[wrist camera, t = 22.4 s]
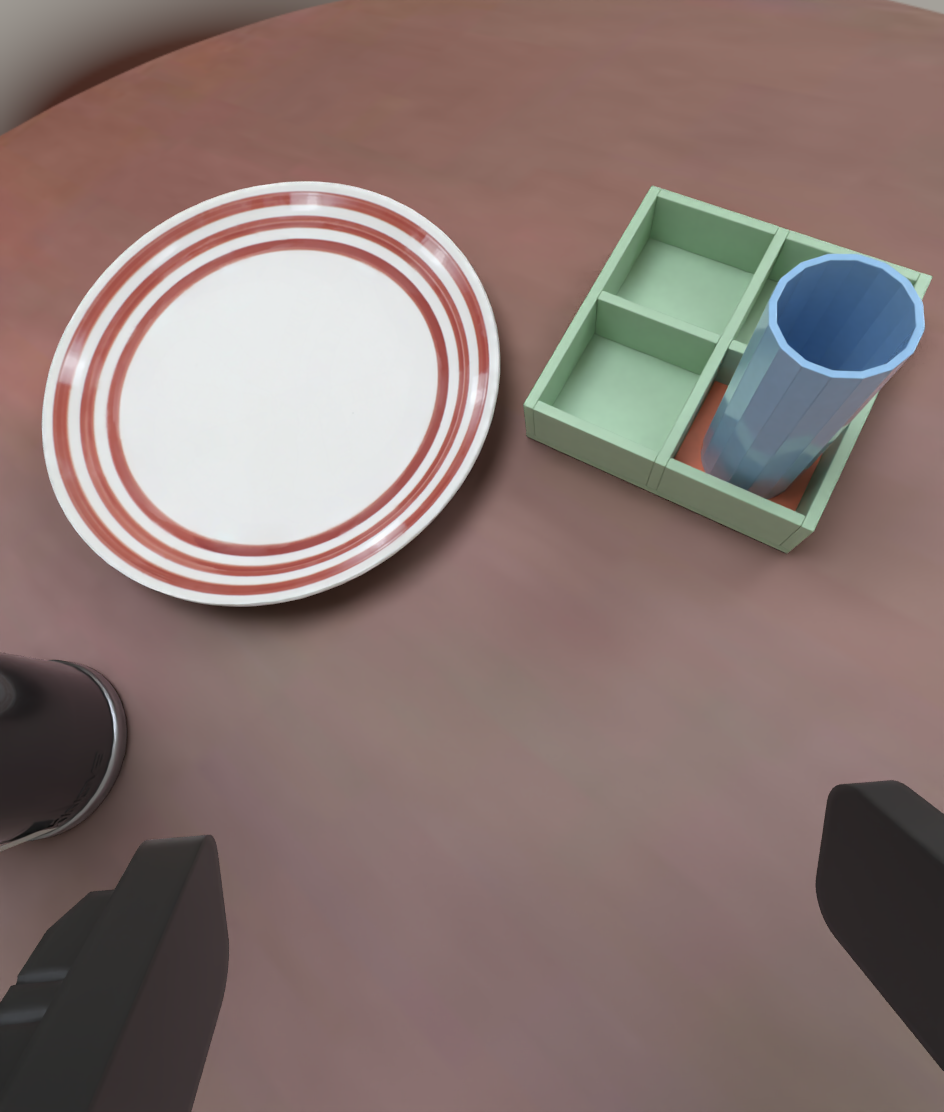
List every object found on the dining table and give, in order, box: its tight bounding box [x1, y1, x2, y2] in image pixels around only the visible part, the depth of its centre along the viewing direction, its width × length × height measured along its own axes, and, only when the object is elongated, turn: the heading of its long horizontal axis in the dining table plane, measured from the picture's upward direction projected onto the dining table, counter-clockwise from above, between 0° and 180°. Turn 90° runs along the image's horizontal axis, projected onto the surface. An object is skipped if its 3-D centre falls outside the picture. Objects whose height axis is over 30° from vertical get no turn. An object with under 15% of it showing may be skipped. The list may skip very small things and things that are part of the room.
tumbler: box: [701, 254, 925, 499], centre depth 29 cm, size 5×5×12 cm
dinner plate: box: [42, 181, 500, 607], centre depth 39 cm, size 27×27×3 cm
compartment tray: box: [523, 186, 932, 553], centre depth 35 cm, size 15×15×4 cm
